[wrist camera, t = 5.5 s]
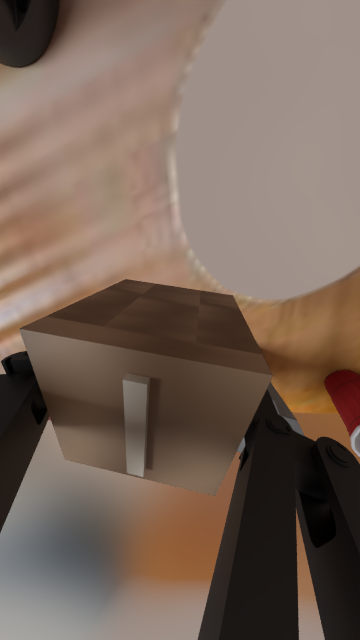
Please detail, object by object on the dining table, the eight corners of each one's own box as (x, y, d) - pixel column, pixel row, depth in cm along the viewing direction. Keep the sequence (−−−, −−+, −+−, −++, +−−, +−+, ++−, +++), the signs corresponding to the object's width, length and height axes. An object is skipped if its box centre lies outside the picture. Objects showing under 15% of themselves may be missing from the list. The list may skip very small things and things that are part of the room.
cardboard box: (127, 362, 16) (60, 466, 9) (125, 279, 13) (9, 333, 5) (210, 378, 15) (215, 504, 8) (232, 295, 12) (277, 383, 5)
